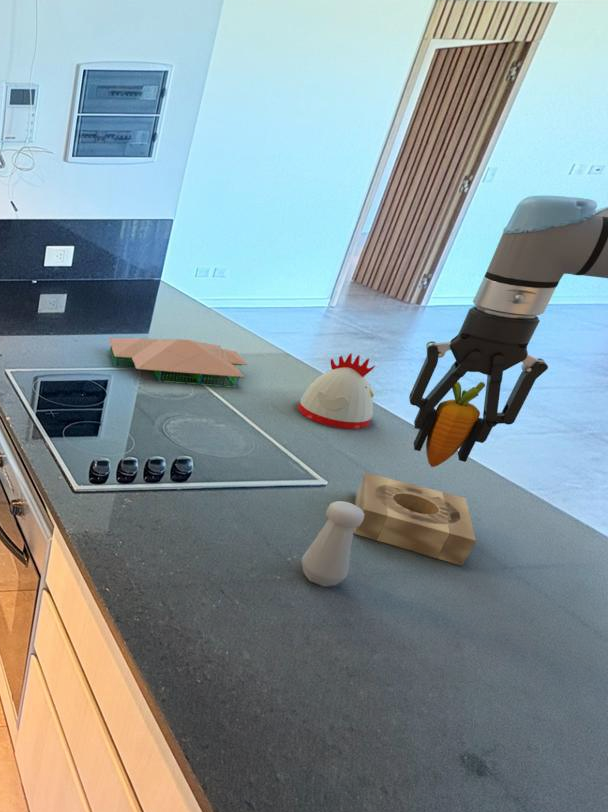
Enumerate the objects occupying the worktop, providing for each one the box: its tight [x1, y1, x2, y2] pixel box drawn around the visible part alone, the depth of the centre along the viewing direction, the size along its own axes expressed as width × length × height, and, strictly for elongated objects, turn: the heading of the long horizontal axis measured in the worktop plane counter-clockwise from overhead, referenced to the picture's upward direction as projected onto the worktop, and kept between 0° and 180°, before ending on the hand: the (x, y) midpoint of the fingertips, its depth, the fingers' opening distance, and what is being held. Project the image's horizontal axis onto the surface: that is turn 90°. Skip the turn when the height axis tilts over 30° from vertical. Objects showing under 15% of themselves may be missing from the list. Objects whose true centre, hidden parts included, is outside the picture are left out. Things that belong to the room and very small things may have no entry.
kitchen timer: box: [297, 352, 376, 430], centre depth 139 cm, size 14×14×15 cm
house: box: [108, 337, 248, 388], centre depth 167 cm, size 23×33×8 cm
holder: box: [353, 472, 477, 567], centre depth 103 cm, size 14×14×5 cm
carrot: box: [425, 381, 486, 468], centre depth 96 cm, size 5×5×15 cm
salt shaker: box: [301, 500, 364, 588], centre depth 90 cm, size 6×6×13 cm
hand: (438, 452), depth 98 cm, fingers closed on carrot, 5 cm apart
